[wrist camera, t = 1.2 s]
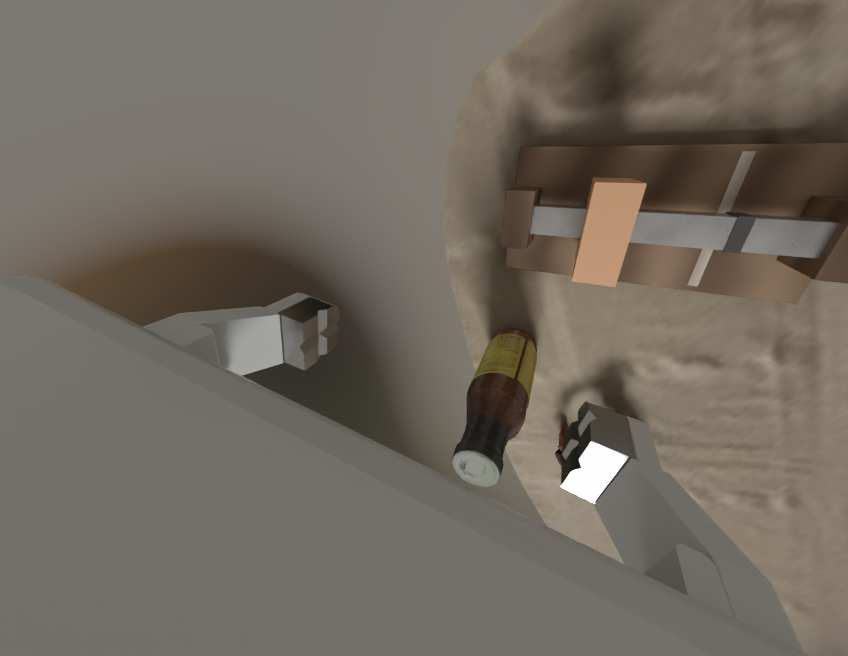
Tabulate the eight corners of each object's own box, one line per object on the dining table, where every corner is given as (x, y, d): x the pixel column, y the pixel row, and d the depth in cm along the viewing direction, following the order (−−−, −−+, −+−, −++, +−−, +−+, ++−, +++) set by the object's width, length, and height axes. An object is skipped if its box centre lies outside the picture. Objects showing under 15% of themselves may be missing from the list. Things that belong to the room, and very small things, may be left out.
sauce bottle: (481, 347, 43) (419, 455, 27) (510, 317, 40) (458, 421, 24) (519, 378, 43) (478, 505, 27) (552, 350, 39) (527, 479, 23)
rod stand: (883, 142, 22) (974, 136, 17) (790, 300, 28) (836, 331, 23) (521, 147, 31) (508, 144, 26) (506, 264, 37) (493, 281, 32)
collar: (631, 178, 27) (646, 183, 20) (608, 257, 31) (615, 287, 23) (593, 177, 28) (595, 182, 21) (575, 254, 32) (571, 281, 24)
